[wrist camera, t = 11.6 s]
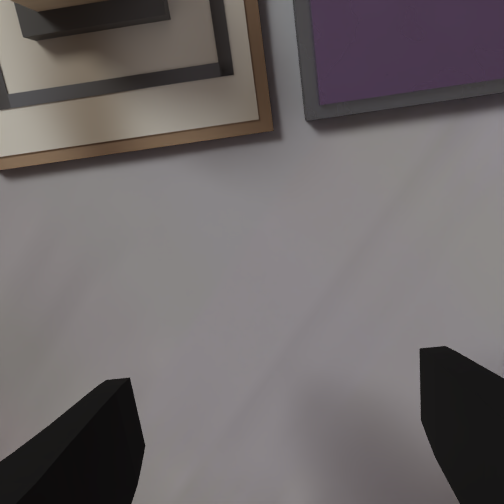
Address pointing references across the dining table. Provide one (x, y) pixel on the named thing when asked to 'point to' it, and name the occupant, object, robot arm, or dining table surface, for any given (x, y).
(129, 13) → the stamp
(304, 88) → the ink pad
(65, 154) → the board
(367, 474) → the dining table surface
